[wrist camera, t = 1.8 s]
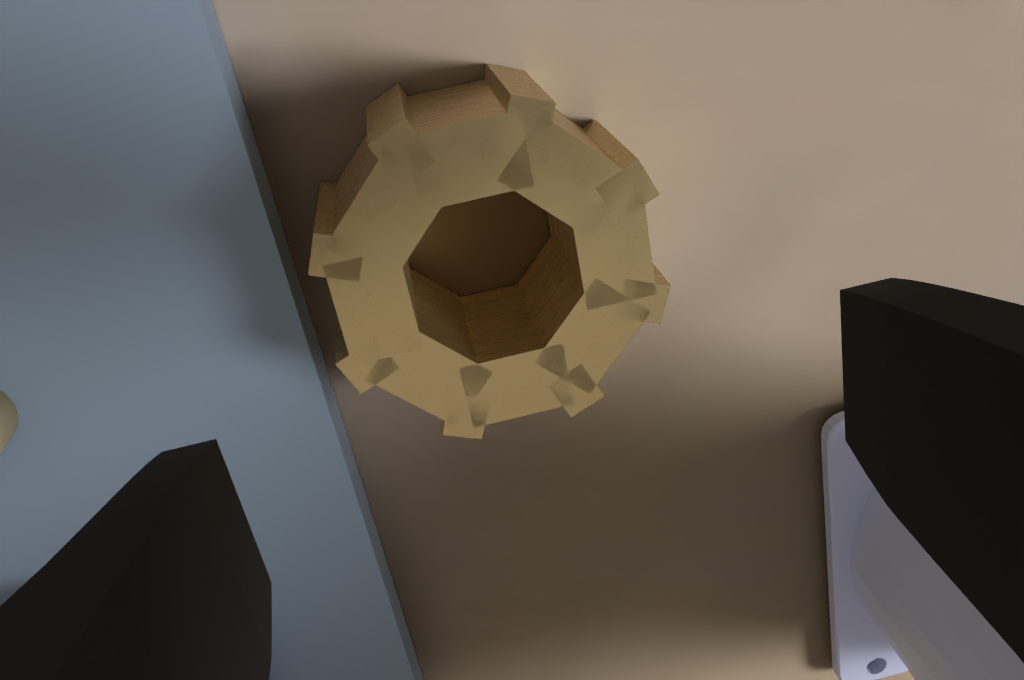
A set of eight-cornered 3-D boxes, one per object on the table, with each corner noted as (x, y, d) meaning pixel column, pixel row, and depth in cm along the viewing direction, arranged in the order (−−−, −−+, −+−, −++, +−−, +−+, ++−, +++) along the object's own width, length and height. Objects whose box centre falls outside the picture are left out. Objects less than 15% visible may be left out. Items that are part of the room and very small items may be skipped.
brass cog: (598, 39, 17) (643, 65, 14) (638, 322, 19) (683, 390, 17) (284, 108, 17) (269, 148, 14) (365, 387, 19) (366, 466, 16)
